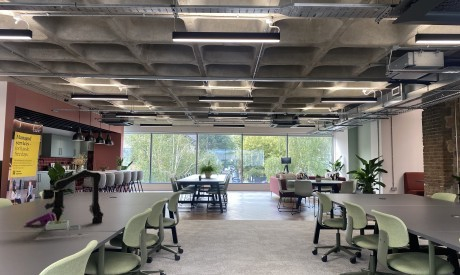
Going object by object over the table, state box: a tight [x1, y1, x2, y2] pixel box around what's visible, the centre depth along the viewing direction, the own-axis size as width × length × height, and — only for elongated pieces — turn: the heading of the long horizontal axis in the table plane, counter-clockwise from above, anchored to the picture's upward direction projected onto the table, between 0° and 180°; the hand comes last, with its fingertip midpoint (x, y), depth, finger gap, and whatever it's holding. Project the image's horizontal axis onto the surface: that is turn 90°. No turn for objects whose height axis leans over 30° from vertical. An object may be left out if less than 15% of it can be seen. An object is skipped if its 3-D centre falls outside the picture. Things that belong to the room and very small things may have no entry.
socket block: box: [67, 224, 82, 231], centre depth 223 cm, size 8×8×3 cm
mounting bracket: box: [25, 210, 55, 227], centre depth 241 cm, size 9×8×18 cm
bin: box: [45, 219, 70, 231], centre depth 226 cm, size 13×13×5 cm
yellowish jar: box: [54, 214, 62, 224], centre depth 226 cm, size 4×4×9 cm
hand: (58, 220), depth 226 cm, fingers closed on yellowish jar, 4 cm apart
